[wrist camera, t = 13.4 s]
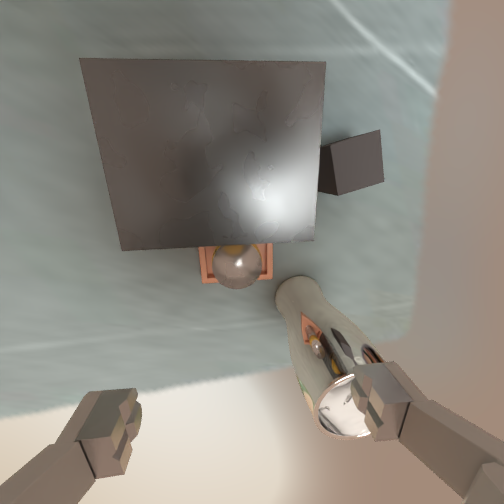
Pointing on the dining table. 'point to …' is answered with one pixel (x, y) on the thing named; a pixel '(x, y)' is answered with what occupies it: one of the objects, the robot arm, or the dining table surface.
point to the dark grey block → (208, 149)
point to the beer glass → (325, 356)
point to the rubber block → (351, 164)
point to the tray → (206, 262)
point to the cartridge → (237, 265)
